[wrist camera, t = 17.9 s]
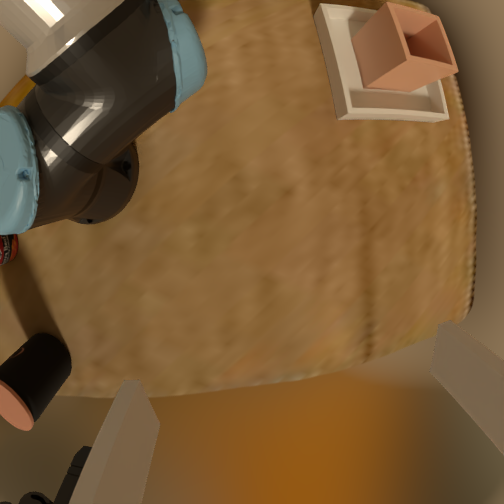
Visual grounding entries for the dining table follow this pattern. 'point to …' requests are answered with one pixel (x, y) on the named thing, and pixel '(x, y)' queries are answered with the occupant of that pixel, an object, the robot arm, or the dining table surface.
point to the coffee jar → (32, 379)
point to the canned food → (8, 248)
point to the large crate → (349, 81)
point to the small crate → (402, 49)
